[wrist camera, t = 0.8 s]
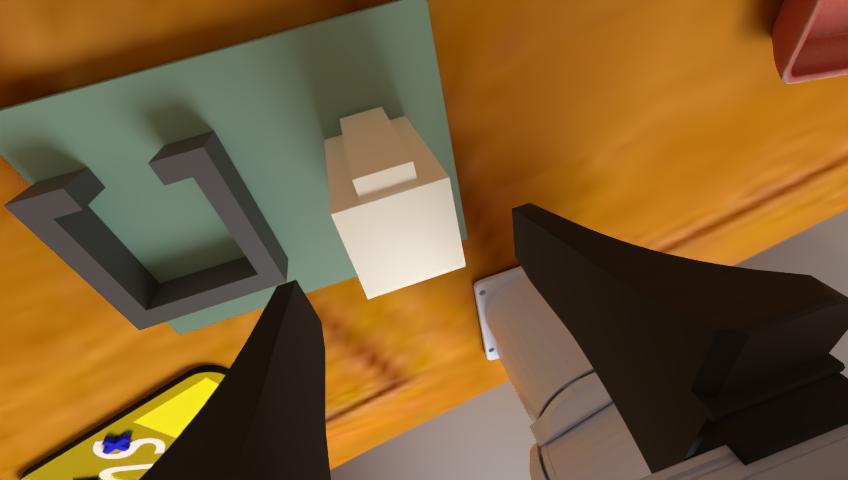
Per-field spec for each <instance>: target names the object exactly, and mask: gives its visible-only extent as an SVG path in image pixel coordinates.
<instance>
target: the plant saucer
mask: <svg viewBox="0 0 848 480" xmlns="http://www.w3.org/2000/svg"><path fill="white" fill-rule="evenodd" d="M772 43H773V52H774V60H775V64H776V67H777V70H778V73H779V75H780V77H781V79H782V81H783V82H784V83H786V84H794V83H800V82H805V81H811V80H816V79H824V78H829V77H835V76H841V75H846V74H848V0H784V2H783V5H782V7H781V9H780V12H779V14H778V17H777V19H776V21H775V23H774V26H773V31H772Z"/></svg>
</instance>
